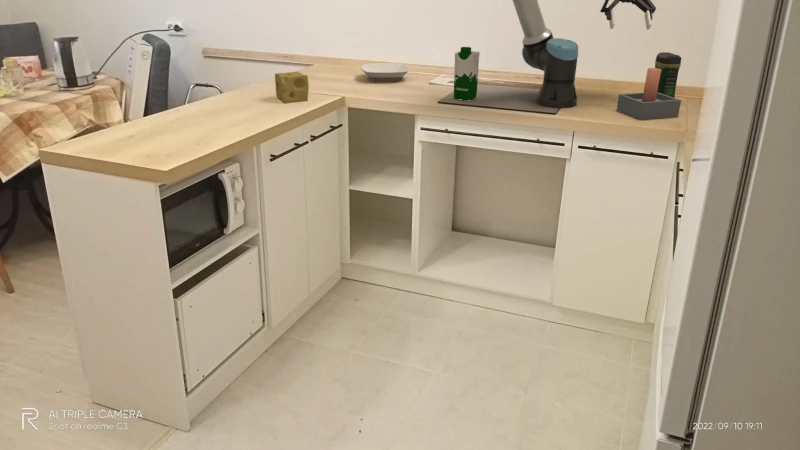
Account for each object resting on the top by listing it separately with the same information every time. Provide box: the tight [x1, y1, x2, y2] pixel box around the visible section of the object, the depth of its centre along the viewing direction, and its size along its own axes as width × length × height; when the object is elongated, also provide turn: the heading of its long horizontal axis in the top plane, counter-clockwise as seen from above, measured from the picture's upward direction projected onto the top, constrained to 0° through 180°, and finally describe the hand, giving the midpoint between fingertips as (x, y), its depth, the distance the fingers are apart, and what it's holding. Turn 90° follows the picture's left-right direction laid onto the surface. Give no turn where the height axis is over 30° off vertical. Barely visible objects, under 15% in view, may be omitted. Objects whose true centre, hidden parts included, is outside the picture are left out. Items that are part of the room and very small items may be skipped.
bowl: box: [360, 62, 410, 83], centre depth 285 cm, size 22×22×5 cm
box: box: [616, 92, 682, 121], centre depth 231 cm, size 16×14×6 cm
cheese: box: [274, 71, 310, 104], centre depth 247 cm, size 10×11×10 cm
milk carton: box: [453, 46, 481, 101], centre depth 248 cm, size 9×9×20 cm
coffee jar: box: [654, 51, 682, 98], centre depth 247 cm, size 10×8×19 cm
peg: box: [642, 67, 661, 102], centre depth 229 cm, size 4×4×16 cm
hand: (630, 27), depth 234 cm, fingers open, 13 cm apart
